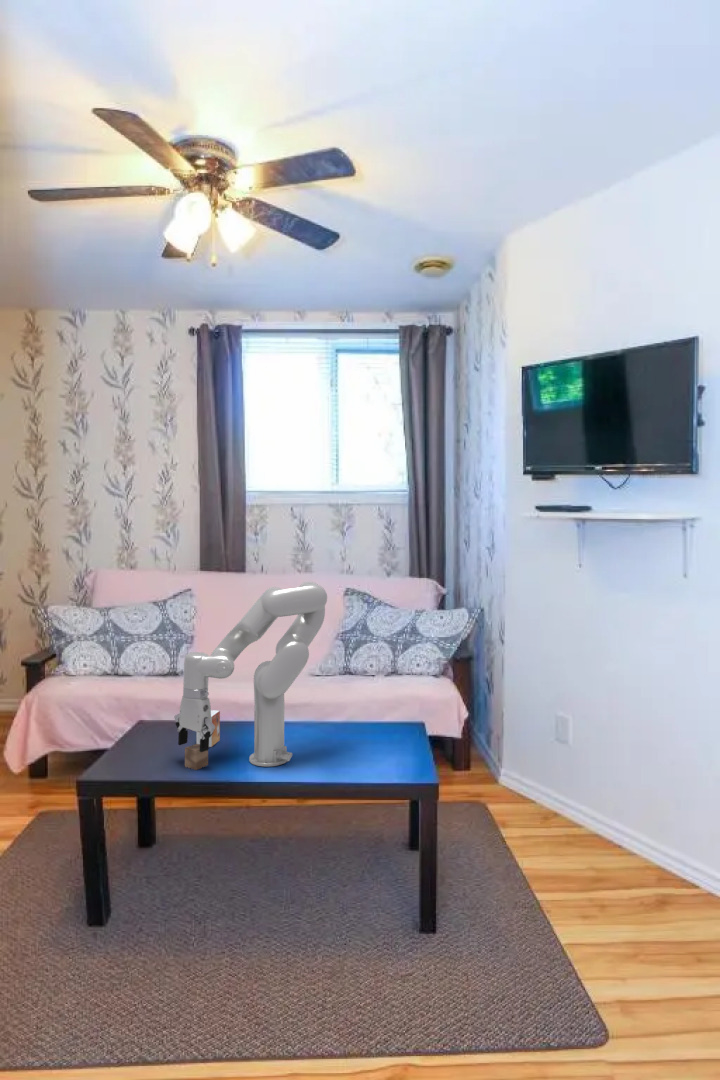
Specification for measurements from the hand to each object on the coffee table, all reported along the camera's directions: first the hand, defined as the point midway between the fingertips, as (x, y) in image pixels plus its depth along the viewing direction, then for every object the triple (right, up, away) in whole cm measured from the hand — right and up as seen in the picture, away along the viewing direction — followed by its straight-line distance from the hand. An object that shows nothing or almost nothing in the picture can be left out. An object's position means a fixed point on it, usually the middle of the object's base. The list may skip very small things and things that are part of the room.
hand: (193, 747), depth 209 cm
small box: (0, -6, +22) cm, 22 cm away
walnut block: (+1, -6, 0) cm, 6 cm away
